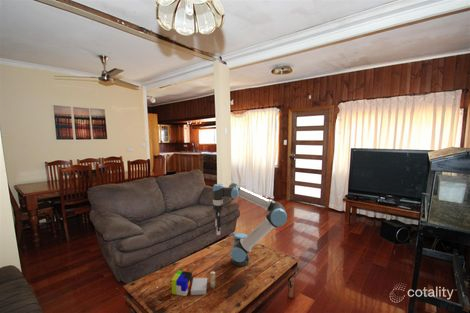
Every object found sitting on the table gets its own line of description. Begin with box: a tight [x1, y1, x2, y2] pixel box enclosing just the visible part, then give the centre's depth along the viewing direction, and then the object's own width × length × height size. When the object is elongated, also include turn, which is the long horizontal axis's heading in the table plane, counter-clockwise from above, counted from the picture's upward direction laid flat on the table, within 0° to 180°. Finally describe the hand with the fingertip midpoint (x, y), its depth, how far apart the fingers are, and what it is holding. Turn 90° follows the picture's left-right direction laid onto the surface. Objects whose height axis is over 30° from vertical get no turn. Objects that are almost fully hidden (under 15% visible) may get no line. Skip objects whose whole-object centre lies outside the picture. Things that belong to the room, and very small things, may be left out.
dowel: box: [209, 271, 216, 289], centre depth 148 cm, size 4×4×10 cm
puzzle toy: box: [171, 270, 193, 297], centre depth 145 cm, size 10×10×10 cm
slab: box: [190, 277, 208, 296], centre depth 147 cm, size 10×12×4 cm
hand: (217, 230), depth 165 cm, fingers open, 13 cm apart
